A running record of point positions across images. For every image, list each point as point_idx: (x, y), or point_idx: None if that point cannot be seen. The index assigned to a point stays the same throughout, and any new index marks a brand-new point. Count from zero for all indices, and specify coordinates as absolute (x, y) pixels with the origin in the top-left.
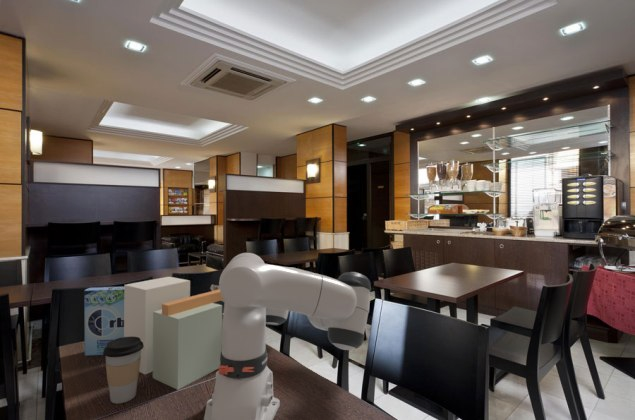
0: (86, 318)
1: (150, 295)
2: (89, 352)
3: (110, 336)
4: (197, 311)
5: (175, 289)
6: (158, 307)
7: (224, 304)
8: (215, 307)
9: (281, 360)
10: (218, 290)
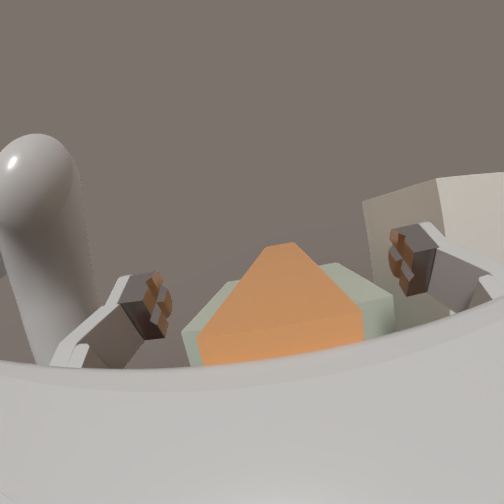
0: None
1: (369, 219)
2: None
3: None
4: (227, 295)
5: (402, 215)
6: (384, 264)
7: (89, 256)
8: (194, 319)
9: None
10: (289, 272)
